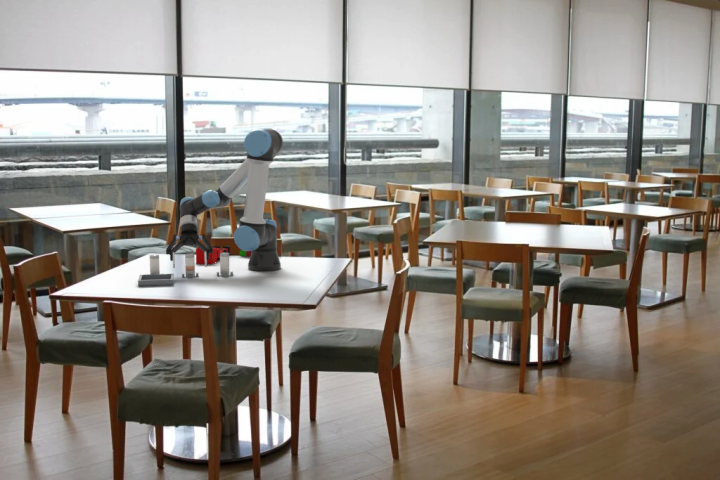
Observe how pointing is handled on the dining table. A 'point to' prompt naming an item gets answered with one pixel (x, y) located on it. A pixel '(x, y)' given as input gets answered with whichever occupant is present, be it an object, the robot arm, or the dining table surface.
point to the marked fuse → (190, 264)
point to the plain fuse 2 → (224, 263)
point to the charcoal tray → (156, 280)
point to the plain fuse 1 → (154, 264)
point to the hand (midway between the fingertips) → (189, 265)
